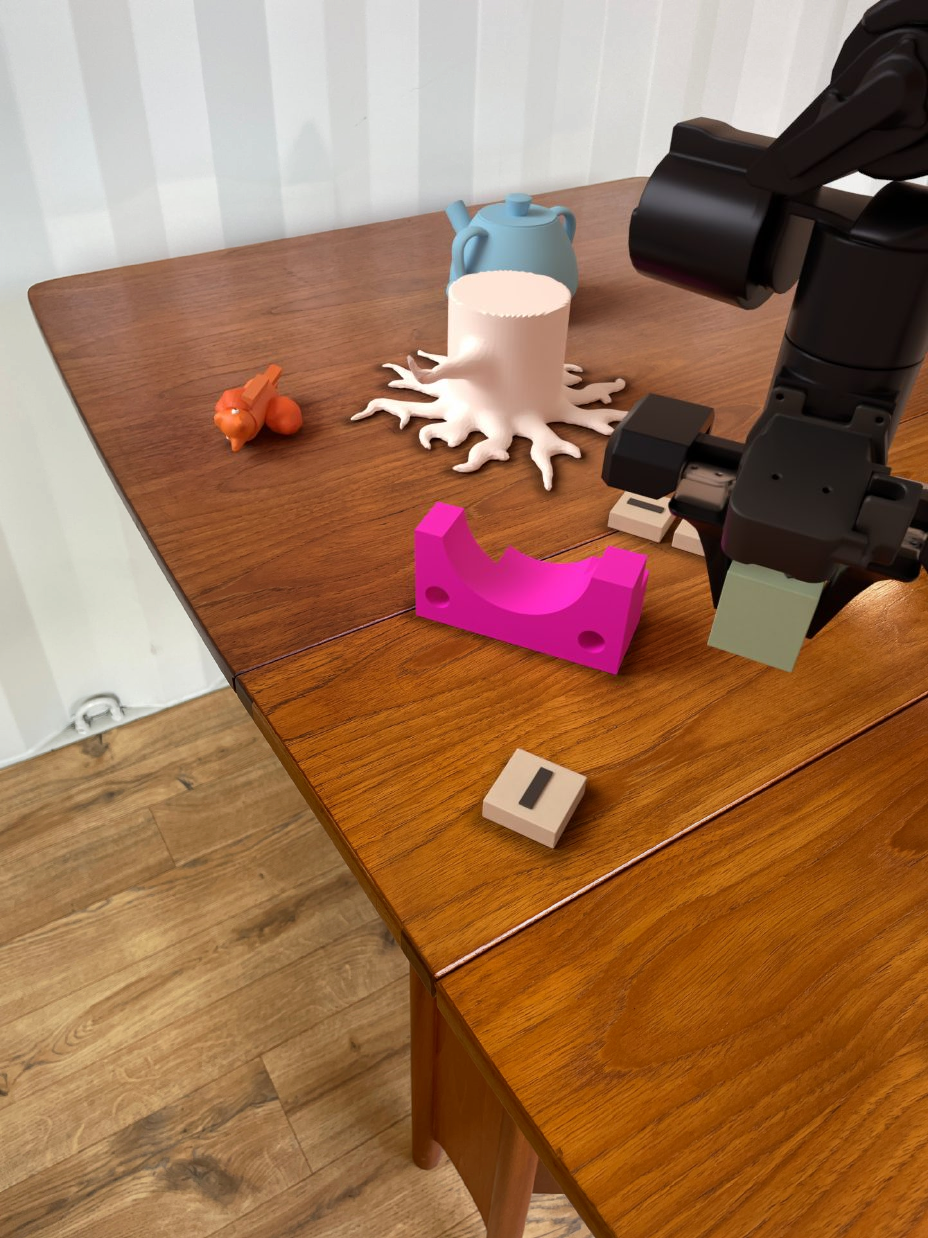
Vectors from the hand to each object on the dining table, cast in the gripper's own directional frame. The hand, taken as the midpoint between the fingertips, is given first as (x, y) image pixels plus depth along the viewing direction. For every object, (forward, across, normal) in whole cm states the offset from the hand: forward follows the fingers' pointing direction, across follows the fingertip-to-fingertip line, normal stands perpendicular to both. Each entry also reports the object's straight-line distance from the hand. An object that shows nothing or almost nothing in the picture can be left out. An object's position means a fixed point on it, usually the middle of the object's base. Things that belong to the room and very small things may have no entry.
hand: (762, 619), depth 48 cm
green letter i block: (+1, 0, 0) cm, 1 cm away
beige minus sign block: (+11, -9, -9) cm, 17 cm away
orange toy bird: (+11, -48, +19) cm, 53 cm away
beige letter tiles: (+11, -10, +22) cm, 26 cm away
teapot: (+11, -44, +60) cm, 75 cm away
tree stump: (+11, -32, +35) cm, 49 cm away
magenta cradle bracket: (+11, -16, +6) cm, 20 cm away
